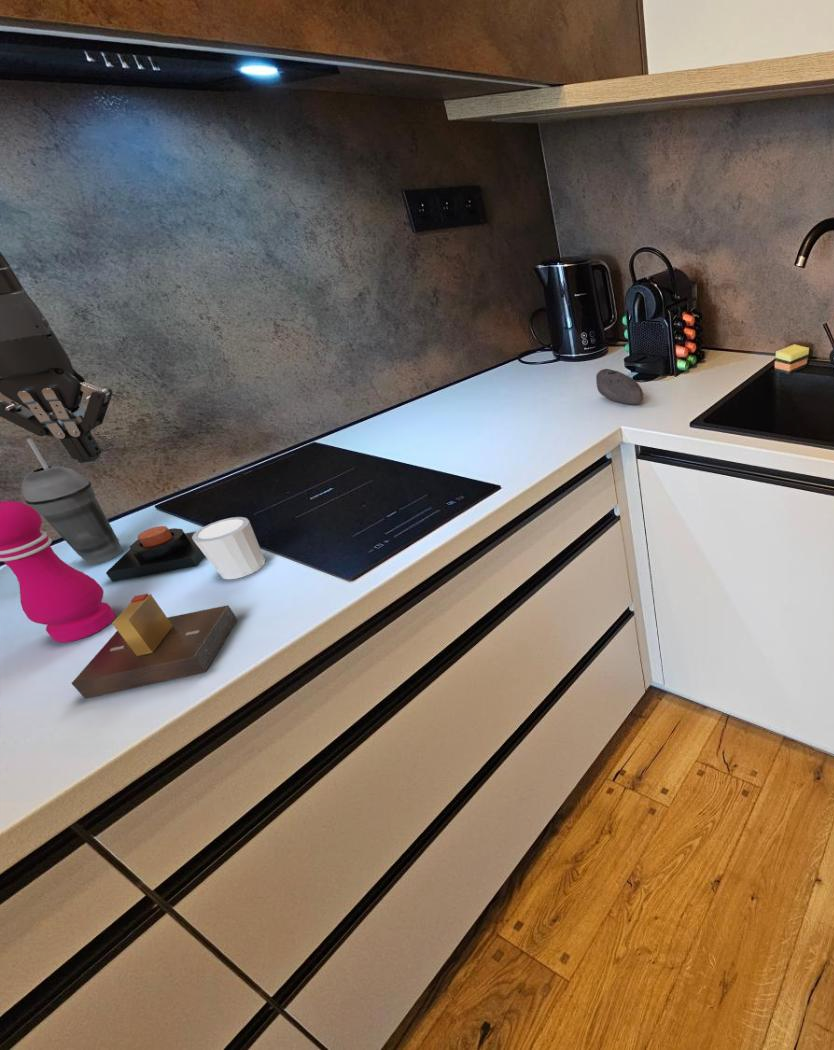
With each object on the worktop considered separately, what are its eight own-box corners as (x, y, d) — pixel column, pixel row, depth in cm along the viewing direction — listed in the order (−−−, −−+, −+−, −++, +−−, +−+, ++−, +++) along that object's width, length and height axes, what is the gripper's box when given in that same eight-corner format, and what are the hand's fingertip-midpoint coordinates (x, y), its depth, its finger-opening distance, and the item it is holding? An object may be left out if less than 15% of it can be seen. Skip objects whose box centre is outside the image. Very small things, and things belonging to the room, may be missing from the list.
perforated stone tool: (651, 405, 137) (648, 376, 134) (634, 411, 134) (630, 382, 131) (613, 393, 147) (609, 365, 143) (596, 398, 144) (592, 370, 140)
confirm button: (138, 550, 88) (132, 540, 87) (150, 538, 91) (144, 528, 90) (166, 545, 88) (160, 535, 88) (177, 533, 91) (171, 524, 91)
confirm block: (112, 582, 86) (97, 562, 84) (143, 550, 94) (130, 532, 92) (196, 566, 89) (184, 547, 87) (220, 536, 96) (210, 518, 94)
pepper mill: (51, 626, 78) (-59, 494, 67) (121, 602, 82) (27, 473, 71) (45, 654, 73) (-75, 516, 63) (119, 627, 77) (18, 492, 66)
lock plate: (84, 699, 66) (69, 682, 64) (131, 641, 74) (119, 625, 73) (205, 672, 68) (193, 655, 67) (237, 619, 76) (228, 603, 75)
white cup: (215, 588, 83) (190, 547, 79) (215, 567, 88) (191, 527, 84) (271, 569, 86) (249, 529, 83) (268, 550, 91) (247, 511, 88)
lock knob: (152, 652, 68) (127, 618, 65) (136, 656, 67) (110, 621, 65) (173, 626, 72) (149, 592, 69) (158, 629, 72) (134, 595, 69)
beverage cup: (104, 544, 96) (24, 430, 86) (145, 542, 96) (69, 428, 86) (61, 570, 90) (-31, 451, 80) (105, 568, 90) (18, 448, 79)
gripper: (-83, 346, 68) (14, 479, 77) (54, 333, 71) (133, 462, 80) (-35, 332, 74) (50, 457, 83) (89, 321, 77) (158, 442, 86)
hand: (90, 459), depth 81 cm, fingers closed
